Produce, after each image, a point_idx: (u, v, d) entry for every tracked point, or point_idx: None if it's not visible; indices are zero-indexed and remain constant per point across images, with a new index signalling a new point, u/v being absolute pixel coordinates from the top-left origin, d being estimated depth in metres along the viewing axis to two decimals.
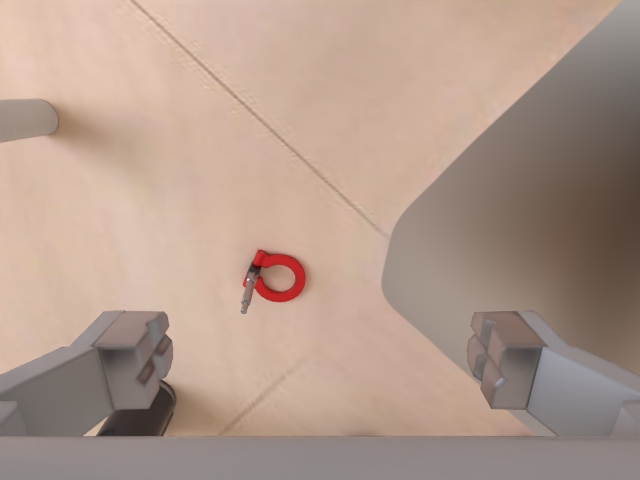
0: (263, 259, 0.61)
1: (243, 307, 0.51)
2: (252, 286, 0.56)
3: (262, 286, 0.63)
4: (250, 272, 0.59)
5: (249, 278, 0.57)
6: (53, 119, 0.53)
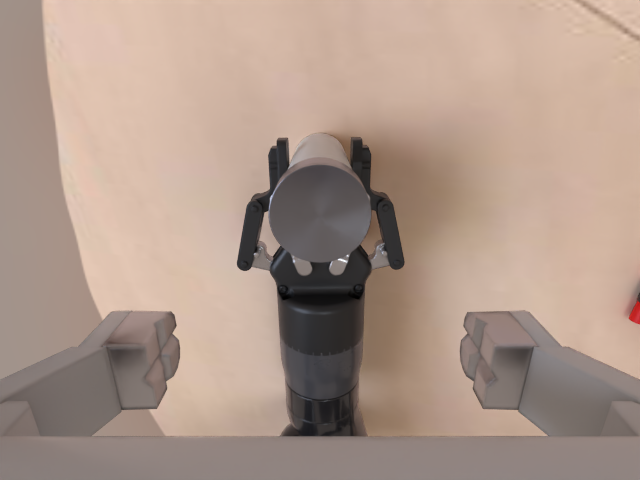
0: None
1: None
2: None
3: None
4: None
5: None
6: None
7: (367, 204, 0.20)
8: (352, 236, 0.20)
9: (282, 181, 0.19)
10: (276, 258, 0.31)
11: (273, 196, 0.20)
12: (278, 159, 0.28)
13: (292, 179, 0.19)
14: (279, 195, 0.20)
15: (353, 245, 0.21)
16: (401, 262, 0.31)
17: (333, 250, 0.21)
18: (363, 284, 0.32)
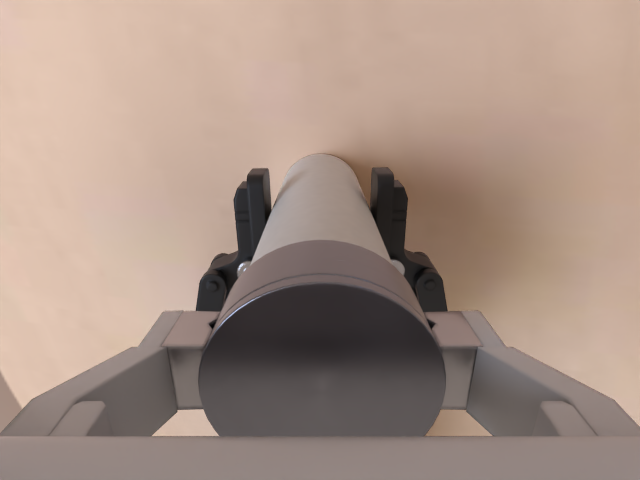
0: None
1: None
2: None
3: None
4: None
5: None
6: None
7: (438, 368, 0.08)
8: (398, 432, 0.09)
9: (227, 319, 0.08)
10: None
11: (207, 353, 0.08)
12: (250, 207, 0.17)
13: (252, 316, 0.08)
14: (222, 350, 0.08)
15: None
16: None
17: None
18: None
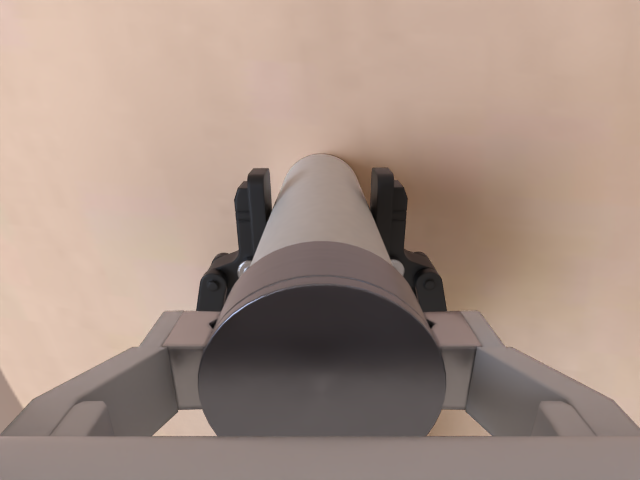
0: None
1: None
2: None
3: None
4: None
5: None
6: None
7: (285, 294, 0.07)
8: (375, 324, 0.08)
9: None
10: None
11: None
12: (250, 207, 0.17)
13: None
14: None
15: (402, 320, 0.08)
16: None
17: (414, 364, 0.08)
18: None
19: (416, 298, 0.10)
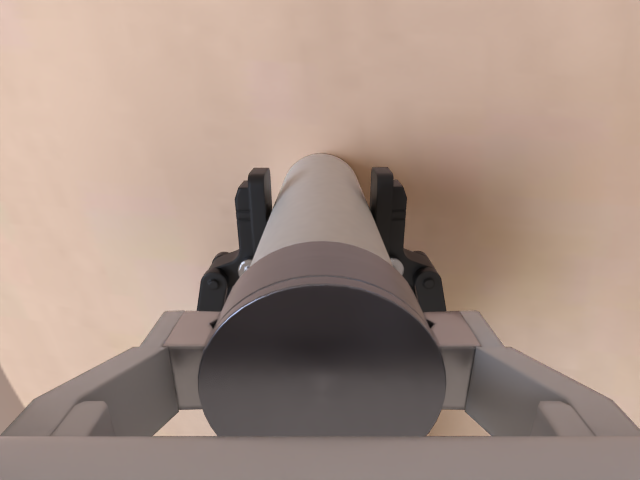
0: None
1: None
2: None
3: None
4: None
5: None
6: None
7: (214, 421, 0.09)
8: (234, 356, 0.08)
9: None
10: None
11: (430, 426, 0.09)
12: (251, 206, 0.17)
13: None
14: (416, 427, 0.09)
15: (227, 334, 0.08)
16: None
17: (278, 319, 0.08)
18: None
19: (268, 257, 0.09)
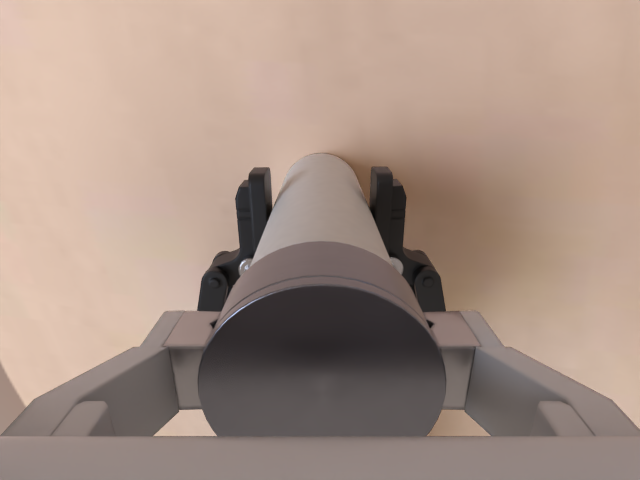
0: None
1: None
2: None
3: None
4: None
5: None
6: None
7: None
8: None
9: (403, 311, 0.08)
10: None
11: (363, 294, 0.07)
12: (251, 205, 0.17)
13: (410, 333, 0.08)
14: (367, 307, 0.07)
15: None
16: None
17: (239, 427, 0.09)
18: None
19: None
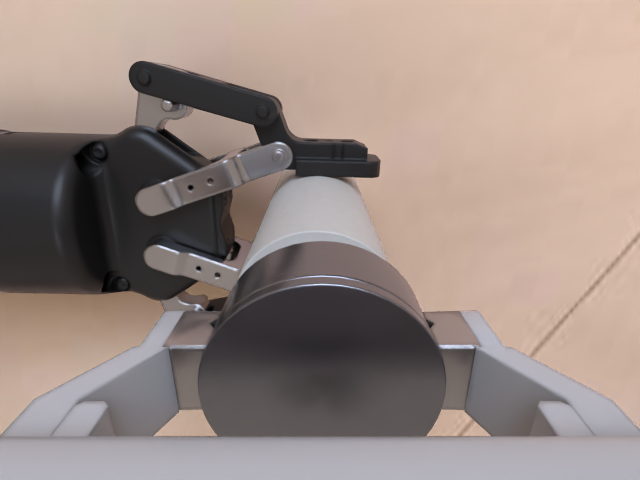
0: None
1: None
2: None
3: None
4: None
5: None
6: None
7: None
8: None
9: (403, 311, 0.08)
10: (163, 143, 0.16)
11: (363, 294, 0.07)
12: (350, 163, 0.17)
13: (410, 333, 0.08)
14: (366, 307, 0.07)
15: None
16: None
17: (239, 426, 0.09)
18: (130, 290, 0.19)
19: None
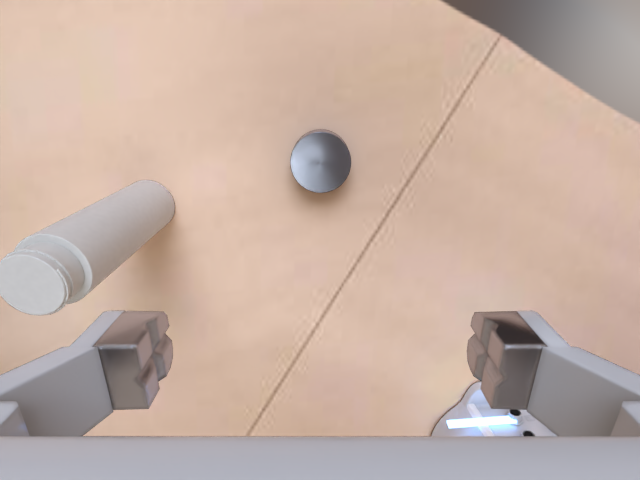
0: None
1: None
2: None
3: None
4: None
5: None
6: None
7: (330, 189, 0.35)
8: (310, 183, 0.35)
9: (339, 139, 0.33)
10: None
11: (330, 134, 0.33)
12: None
13: (341, 145, 0.33)
14: (330, 138, 0.33)
15: (304, 185, 0.35)
16: None
17: (299, 173, 0.34)
18: None
19: None
